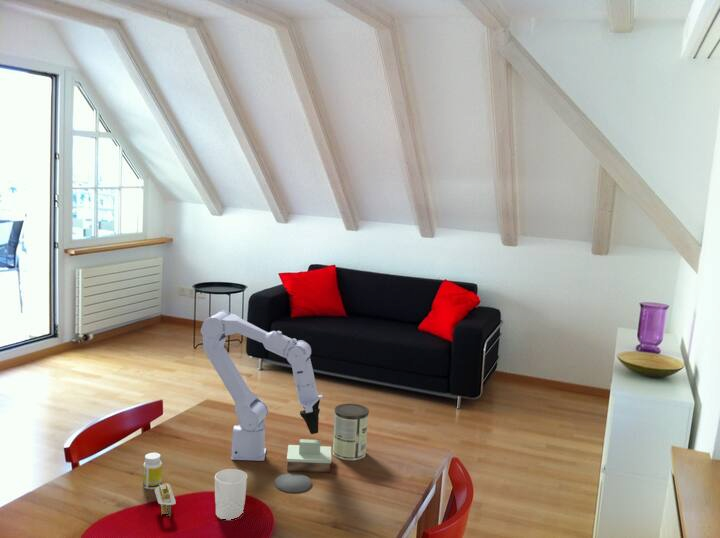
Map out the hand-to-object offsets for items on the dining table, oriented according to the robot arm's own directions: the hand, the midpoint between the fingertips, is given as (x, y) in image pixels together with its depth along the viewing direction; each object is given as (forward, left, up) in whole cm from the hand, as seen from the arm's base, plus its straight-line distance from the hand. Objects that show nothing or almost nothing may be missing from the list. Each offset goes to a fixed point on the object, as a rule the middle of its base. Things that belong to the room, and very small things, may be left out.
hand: (314, 428), depth 204 cm
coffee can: (+11, +8, -11) cm, 18 cm away
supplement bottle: (-42, -17, -11) cm, 47 cm away
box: (-1, -1, -11) cm, 11 cm away
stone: (-5, -13, -11) cm, 17 cm away
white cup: (-20, -30, -11) cm, 37 cm away
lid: (-1, -1, -8) cm, 8 cm away
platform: (-36, -29, -12) cm, 48 cm away
